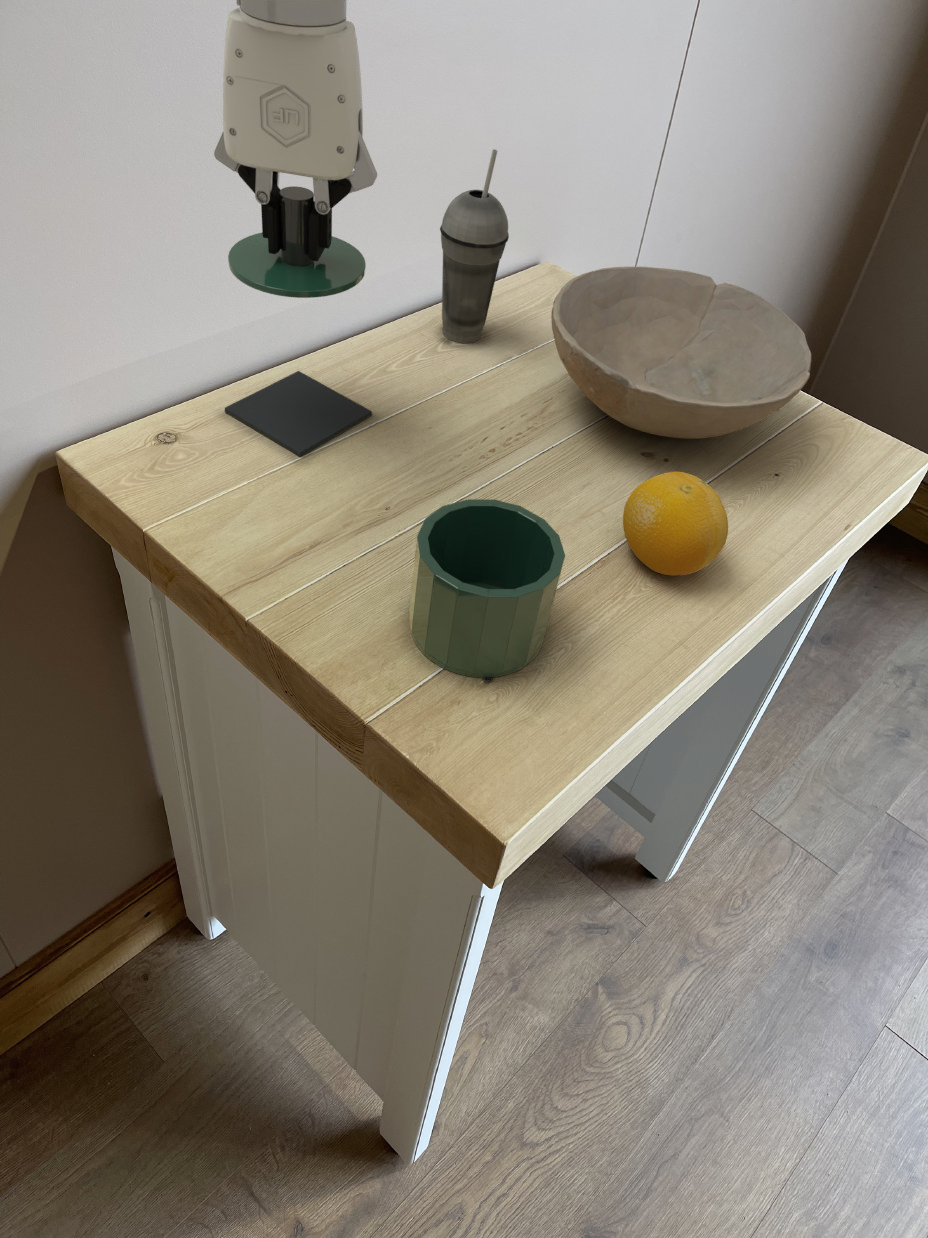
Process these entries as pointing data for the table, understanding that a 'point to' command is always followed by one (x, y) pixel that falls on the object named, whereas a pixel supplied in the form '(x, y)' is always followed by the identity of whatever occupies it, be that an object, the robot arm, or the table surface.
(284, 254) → the lid
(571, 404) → the table surface
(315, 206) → the robot arm
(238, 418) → the mat
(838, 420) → the table surface
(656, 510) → the fruit
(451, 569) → the pot
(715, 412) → the bowl
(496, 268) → the beverage cup
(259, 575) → the table surface
